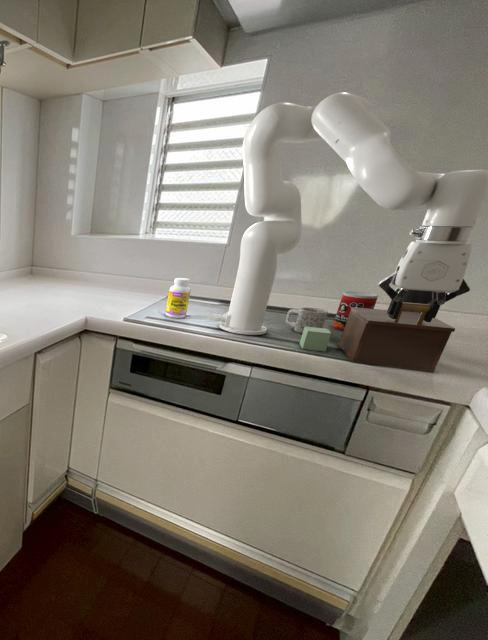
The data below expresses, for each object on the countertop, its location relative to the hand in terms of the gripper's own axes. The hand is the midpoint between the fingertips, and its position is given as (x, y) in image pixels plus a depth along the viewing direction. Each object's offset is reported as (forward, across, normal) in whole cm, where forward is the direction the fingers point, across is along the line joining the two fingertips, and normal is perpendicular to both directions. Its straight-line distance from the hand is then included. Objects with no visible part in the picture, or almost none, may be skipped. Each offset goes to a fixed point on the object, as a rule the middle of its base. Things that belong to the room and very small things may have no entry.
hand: (408, 318), depth 92 cm
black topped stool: (+12, +8, +24) cm, 28 cm away
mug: (+12, -14, +27) cm, 32 cm away
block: (+12, -14, +8) cm, 20 cm away
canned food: (+12, -1, +35) cm, 37 cm away
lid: (+2, 0, +6) cm, 6 cm away
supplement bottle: (+12, -50, +28) cm, 58 cm away
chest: (+12, 0, +6) cm, 13 cm away
